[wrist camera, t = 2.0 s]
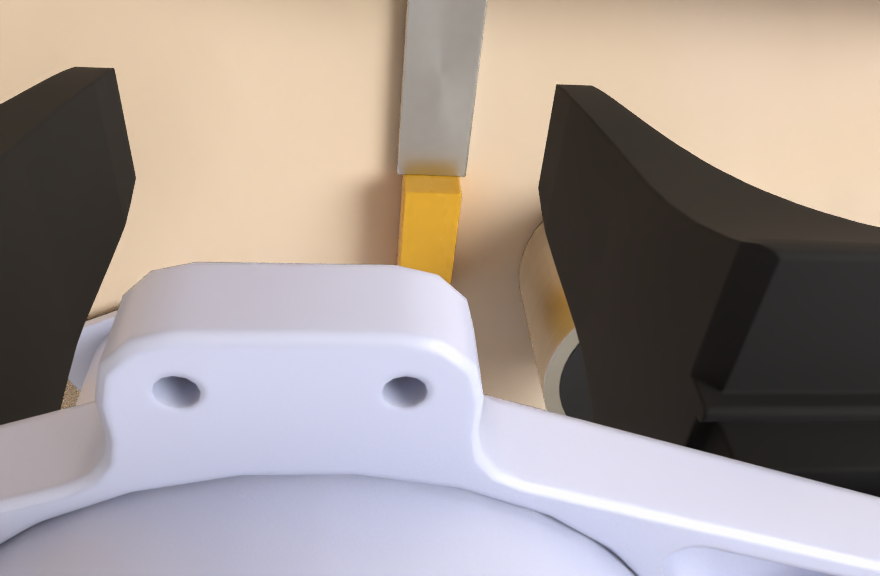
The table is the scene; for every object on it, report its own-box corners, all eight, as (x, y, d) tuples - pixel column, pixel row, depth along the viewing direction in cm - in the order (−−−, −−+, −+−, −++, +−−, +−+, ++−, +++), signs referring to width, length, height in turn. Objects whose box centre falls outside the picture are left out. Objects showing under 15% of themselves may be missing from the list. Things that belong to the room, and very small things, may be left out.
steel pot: (537, 168, 27) (569, 275, 22) (771, 177, 27) (844, 282, 23) (482, 460, 36) (497, 574, 32) (656, 460, 37) (692, 571, 33)
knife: (450, 288, 30) (453, 313, 29) (389, 286, 29) (390, 312, 28) (491, -52, 22) (497, -34, 21) (410, -57, 22) (412, -39, 21)
